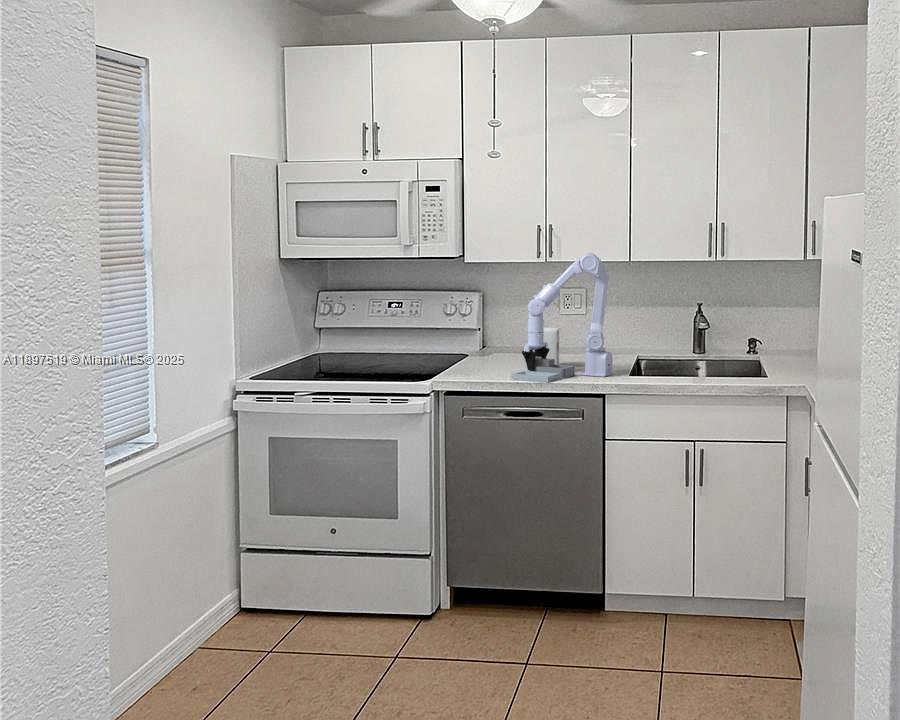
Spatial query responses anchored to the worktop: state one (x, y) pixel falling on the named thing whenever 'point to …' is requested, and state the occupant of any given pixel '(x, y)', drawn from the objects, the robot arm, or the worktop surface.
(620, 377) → the worktop surface
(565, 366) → the bay
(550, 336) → the grey piece
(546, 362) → the caddy
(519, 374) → the tray
